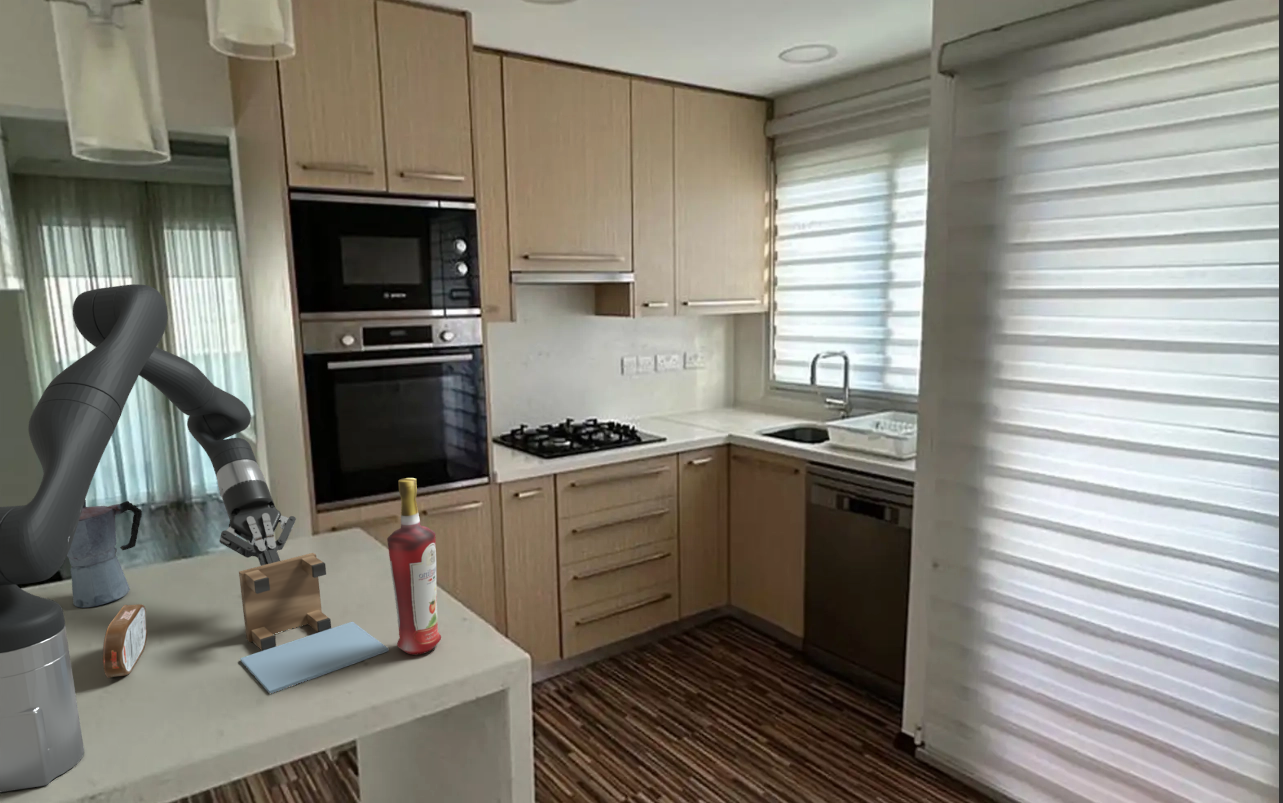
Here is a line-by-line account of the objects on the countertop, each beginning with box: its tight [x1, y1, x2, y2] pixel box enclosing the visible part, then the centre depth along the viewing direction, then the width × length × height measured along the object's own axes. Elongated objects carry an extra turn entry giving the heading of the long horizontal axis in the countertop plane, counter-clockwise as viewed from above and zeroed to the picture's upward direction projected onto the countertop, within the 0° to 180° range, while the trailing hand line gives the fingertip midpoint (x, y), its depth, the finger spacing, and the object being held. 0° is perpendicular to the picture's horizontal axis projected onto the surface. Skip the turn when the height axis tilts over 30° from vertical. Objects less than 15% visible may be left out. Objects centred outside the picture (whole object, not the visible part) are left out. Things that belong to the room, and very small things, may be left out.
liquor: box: [386, 477, 442, 656], centre depth 120 cm, size 7×7×28 cm
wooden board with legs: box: [238, 552, 332, 651], centre depth 127 cm, size 7×12×12 cm, turn 134°
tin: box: [102, 603, 148, 679], centre depth 119 cm, size 15×3×8 cm, turn 21°
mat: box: [240, 621, 389, 694], centre depth 120 cm, size 14×18×1 cm
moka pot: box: [66, 499, 143, 609], centre depth 144 cm, size 10×15×20 cm, turn 132°
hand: (273, 571), depth 130 cm, fingers closed
